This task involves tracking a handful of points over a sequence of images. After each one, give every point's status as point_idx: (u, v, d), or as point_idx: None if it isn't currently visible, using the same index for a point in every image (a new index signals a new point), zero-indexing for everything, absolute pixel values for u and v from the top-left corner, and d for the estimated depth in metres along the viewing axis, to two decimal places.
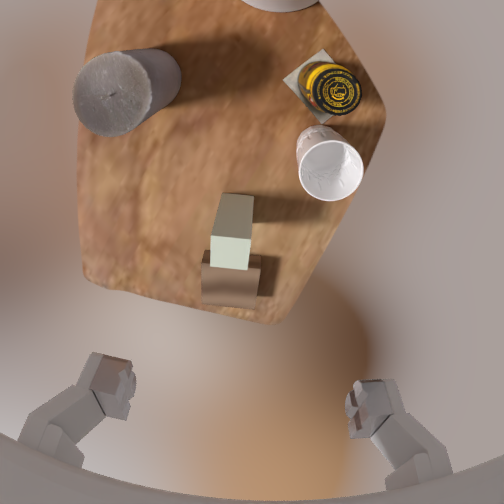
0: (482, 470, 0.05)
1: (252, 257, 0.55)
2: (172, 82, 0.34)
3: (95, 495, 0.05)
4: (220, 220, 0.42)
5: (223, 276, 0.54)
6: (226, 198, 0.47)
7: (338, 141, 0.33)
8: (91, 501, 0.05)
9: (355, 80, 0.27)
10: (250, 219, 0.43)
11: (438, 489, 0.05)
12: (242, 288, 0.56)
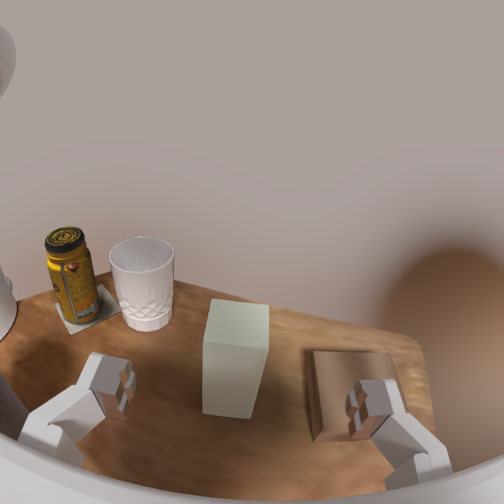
0: (482, 470, 0.05)
1: (308, 375, 0.34)
2: None
3: (95, 495, 0.05)
4: None
5: (342, 396, 0.29)
6: None
7: (112, 248, 0.35)
8: (91, 501, 0.05)
9: (59, 228, 0.34)
10: None
11: (438, 489, 0.05)
12: (356, 369, 0.32)
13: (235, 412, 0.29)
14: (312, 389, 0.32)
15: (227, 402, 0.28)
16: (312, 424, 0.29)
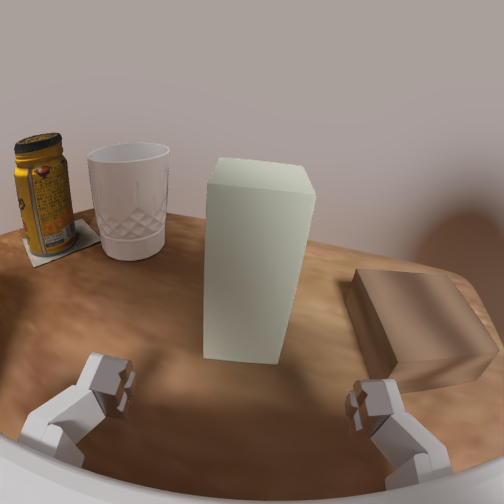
0: (482, 470, 0.05)
1: (351, 307, 0.25)
2: None
3: (95, 495, 0.05)
4: None
5: (409, 320, 0.20)
6: None
7: (93, 151, 0.26)
8: (91, 501, 0.05)
9: None
10: None
11: (438, 489, 0.05)
12: (416, 290, 0.23)
13: (255, 351, 0.20)
14: (362, 320, 0.23)
15: (243, 328, 0.19)
16: (370, 369, 0.20)
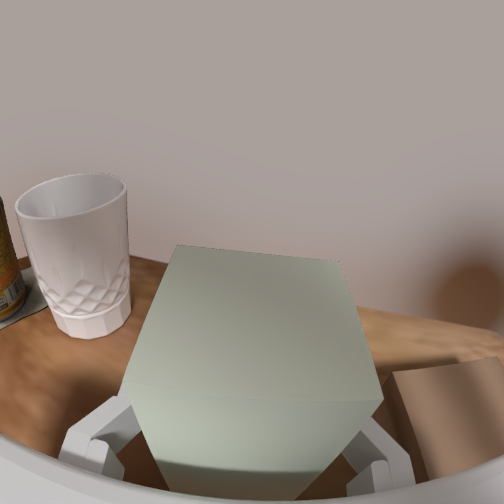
0: (482, 470, 0.05)
1: (379, 417, 0.16)
2: None
3: (95, 495, 0.05)
4: None
5: (459, 452, 0.11)
6: None
7: (27, 191, 0.17)
8: (91, 501, 0.05)
9: None
10: None
11: (438, 489, 0.05)
12: (466, 394, 0.14)
13: None
14: None
15: None
16: None
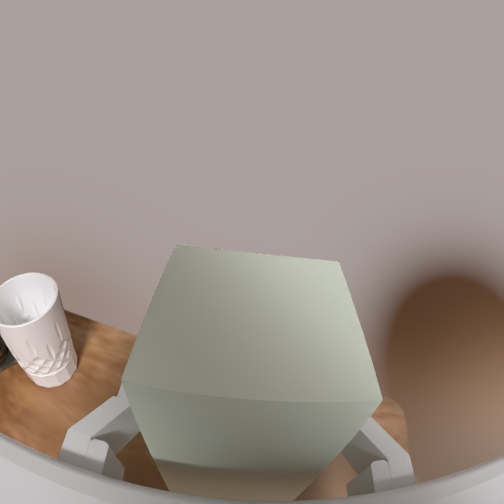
0: (482, 470, 0.05)
1: None
2: None
3: (95, 495, 0.05)
4: None
5: None
6: None
7: None
8: (91, 501, 0.05)
9: None
10: None
11: (438, 489, 0.05)
12: None
13: None
14: None
15: None
16: None
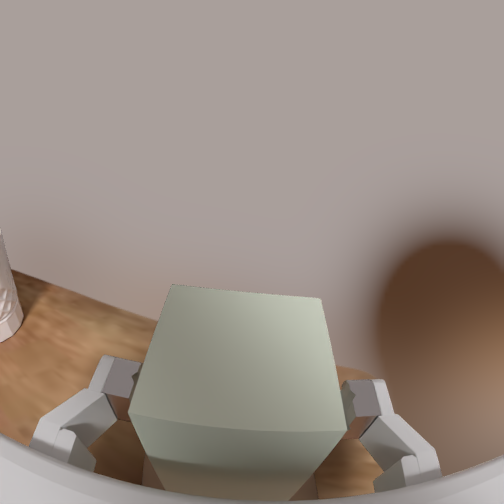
0: (482, 470, 0.05)
1: None
2: None
3: (95, 496, 0.05)
4: None
5: None
6: None
7: None
8: (91, 501, 0.05)
9: None
10: None
11: (438, 489, 0.05)
12: None
13: None
14: None
15: None
16: None
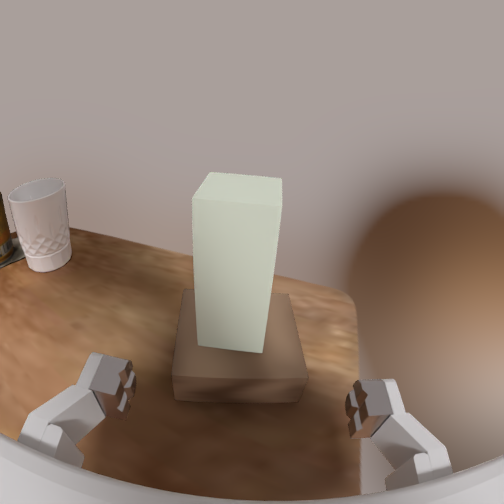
0: (482, 470, 0.05)
1: None
2: None
3: (95, 496, 0.05)
4: None
5: None
6: None
7: (15, 188, 0.31)
8: (91, 501, 0.05)
9: None
10: None
11: (438, 489, 0.05)
12: None
13: (241, 340, 0.23)
14: None
15: (230, 319, 0.22)
16: None
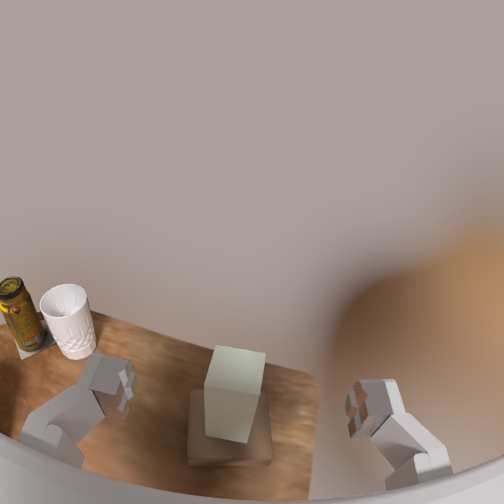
0: (482, 470, 0.05)
1: None
2: None
3: (95, 496, 0.05)
4: None
5: None
6: None
7: (43, 295, 0.40)
8: (91, 501, 0.05)
9: (7, 278, 0.38)
10: None
11: (438, 489, 0.05)
12: None
13: (233, 437, 0.32)
14: None
15: (226, 429, 0.31)
16: None
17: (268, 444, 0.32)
